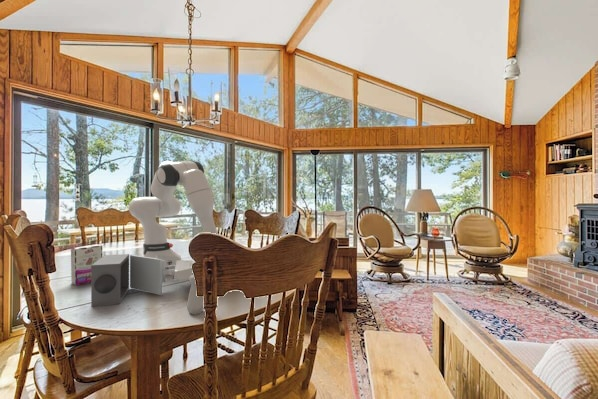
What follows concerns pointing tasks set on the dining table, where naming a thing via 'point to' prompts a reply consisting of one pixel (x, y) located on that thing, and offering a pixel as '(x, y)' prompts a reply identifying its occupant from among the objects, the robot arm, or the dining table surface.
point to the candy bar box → (84, 262)
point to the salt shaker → (194, 299)
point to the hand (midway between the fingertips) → (163, 270)
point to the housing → (109, 279)
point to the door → (147, 274)
